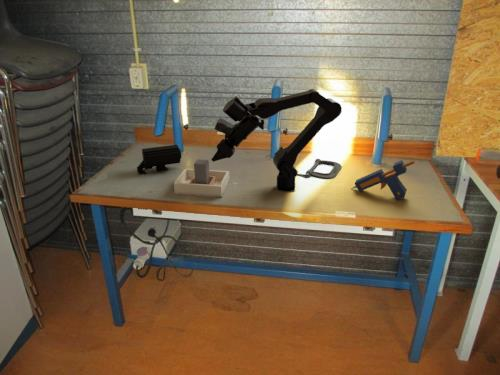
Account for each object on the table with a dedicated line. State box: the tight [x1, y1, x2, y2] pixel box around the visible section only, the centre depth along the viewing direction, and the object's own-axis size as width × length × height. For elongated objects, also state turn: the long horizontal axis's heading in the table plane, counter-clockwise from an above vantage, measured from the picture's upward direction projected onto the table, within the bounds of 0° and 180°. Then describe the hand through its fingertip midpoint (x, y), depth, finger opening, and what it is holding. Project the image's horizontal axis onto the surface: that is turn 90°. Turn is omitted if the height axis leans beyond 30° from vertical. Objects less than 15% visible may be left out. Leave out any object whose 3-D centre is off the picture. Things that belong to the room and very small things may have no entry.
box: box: [173, 168, 230, 198], centre depth 153 cm, size 18×14×4 cm
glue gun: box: [350, 160, 416, 201], centre depth 146 cm, size 5×25×12 cm
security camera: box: [136, 144, 182, 175], centre depth 167 cm, size 7×18×10 cm, turn 110°
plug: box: [193, 158, 210, 184], centre depth 151 cm, size 4×4×10 cm
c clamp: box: [297, 158, 342, 180], centre depth 169 cm, size 20×17×3 cm
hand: (215, 156), depth 147 cm, fingers open, 9 cm apart
